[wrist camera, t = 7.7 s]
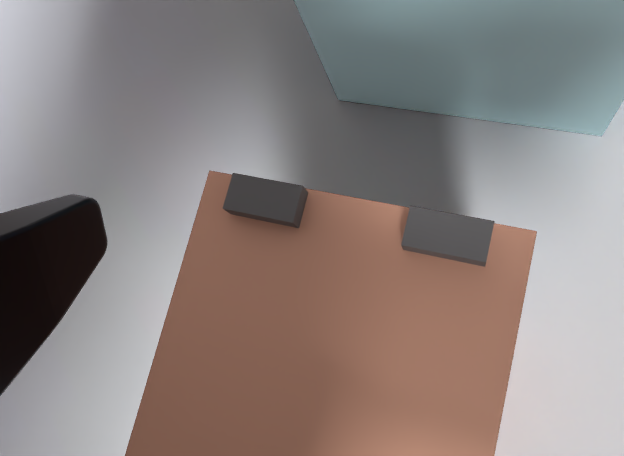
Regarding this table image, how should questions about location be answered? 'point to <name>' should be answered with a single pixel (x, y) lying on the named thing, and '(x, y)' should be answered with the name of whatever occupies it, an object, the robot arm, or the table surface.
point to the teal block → (477, 57)
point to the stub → (333, 328)
